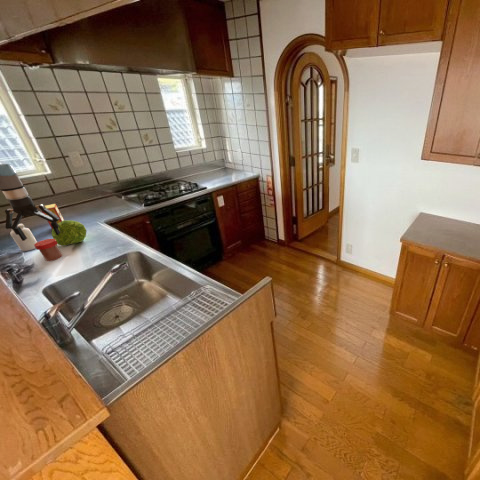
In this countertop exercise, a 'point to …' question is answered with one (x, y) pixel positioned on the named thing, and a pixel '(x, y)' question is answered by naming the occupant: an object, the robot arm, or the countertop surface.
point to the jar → (51, 253)
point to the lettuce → (69, 232)
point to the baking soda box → (55, 210)
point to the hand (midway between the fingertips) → (42, 236)
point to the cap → (45, 244)
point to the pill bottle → (26, 244)
